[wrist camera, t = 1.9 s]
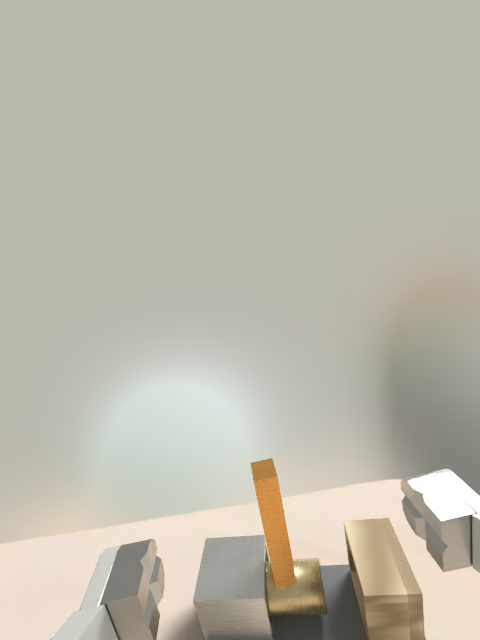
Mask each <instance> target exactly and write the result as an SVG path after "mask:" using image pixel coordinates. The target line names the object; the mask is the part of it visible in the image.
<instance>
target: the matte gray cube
mask: <svg viewBox="0 0 480 640" xmlns="http://www.w3.org/2000/svg"><path fill="white" fill-rule="evenodd" d="M265 561H270V559H269V554H268V549H267V544H266V539H265V535H257V536H240V537H224V538H207V539H206V541H205V546H204V551H203V555H202V560H201V565H200V570H199V575H198V580H197V584H196V589H195V594H194V599H193V602H194V606H195V609H196V612H197V616H198V619H199V622H200V626H201V629H202V633H203V636H204V639H205V640H275V632H274V616H269V613H268V608H267V603H266V599H265Z"/></svg>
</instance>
